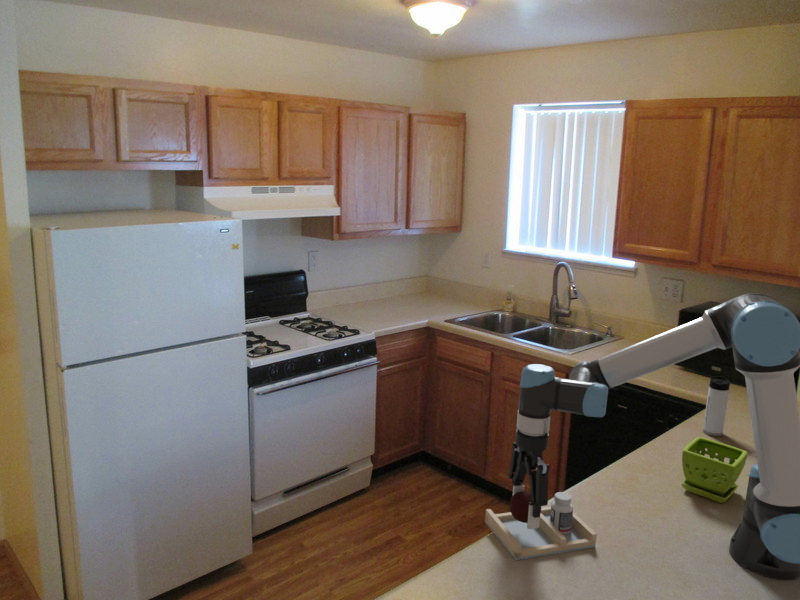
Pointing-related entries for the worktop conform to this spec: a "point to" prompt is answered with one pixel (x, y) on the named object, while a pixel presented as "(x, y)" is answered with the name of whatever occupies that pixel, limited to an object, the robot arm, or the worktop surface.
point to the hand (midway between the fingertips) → (524, 518)
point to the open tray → (539, 535)
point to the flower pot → (712, 468)
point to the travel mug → (716, 406)
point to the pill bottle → (562, 512)
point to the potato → (520, 505)
